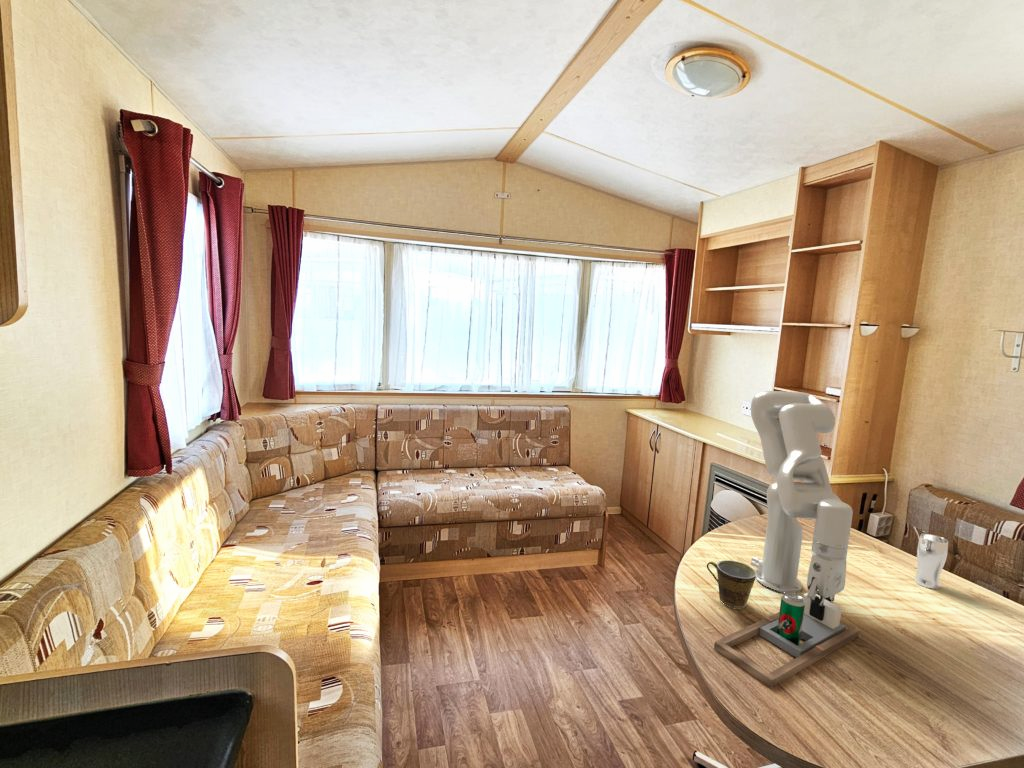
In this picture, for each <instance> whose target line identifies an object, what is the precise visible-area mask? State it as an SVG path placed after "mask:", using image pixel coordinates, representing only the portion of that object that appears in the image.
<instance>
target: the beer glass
mask: <svg viewBox="0 0 1024 768" xmlns="http://www.w3.org/2000/svg"><path fill="white" fill-rule="evenodd" d="M948 550H949V541H948V539H946V538H944V537H941V536H939V535H936V534H930V533H921V534H920V536H919V540H918V545H917V551H916V557H917V559H916V561H917V572H916V574H915V576H914V579H913V580H914V581H913V582H915V583H916V584H918V585H919V586H921V585H922V587H923V586H924V588H926V587H927V588H926V589H930V588H931V589H932V590H939V589H940V588H941V587H940V585H941V584H940V576H941V573H942V570H943V568H944V566H945V564H946V561H947V557H948V552H949V551H948Z"/></svg>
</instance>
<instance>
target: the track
mask: <svg viewBox="0 0 1024 768" xmlns="http://www.w3.org/2000/svg"><path fill="white" fill-rule="evenodd" d="M777 619H779V611H778V612H776V613H774V614H772V615H769V616H766V617H764V618H763V619H761V620H758V621H756V622H754V623H752V624H750V625H747V626H745V627H744V628H741V629H739V630H737V631H735V632H733V633H731V634H728V635H726V636H724V637H721V638H720V639H717V640H716V641H714V644H713V645H714V646H713V649H714V650H715V651H717V652H719V653H720V654H722V656H724V657H726V658H727V659H728V660H730V661H731V662H733V663H734V664H735V665H736V666H738V667H740V668H741V669H743V670H744V671H746V672H747V673H749V674H750V675H752V677H754V678H756V679H757V680H759V681H760V682H762V683H763V684H764V685H766V686H767V687H769V688H773V687H775V686H777V685H779V684H781V683H782V682H784V681H786V680H788V679H789V678H791V677H792V676H794V675H795V674H797V673H799V672H801V671H802V670H804V669H806V668H807V667H809V666H812V665H813V664H814V663H816V662H818V661H819V660H822V659H823V658H824V657H826V656H829V655H830V654H831V653H833V652H835V651H836V650H838V649H840V648H842V647H843V646H845V645H846V644H848V643H850V642H851V641H853V640H855V639H857V638H858V637H859V633H860V630H859V629H858V628H856V627H854V626H850V627H848V628H846V630H845V631H843V632H842V633H840V634H838V635H836V636H834V637H833V638H831V639H829V640H827V641H826V642H824V643H822V644H820V645H817V646H815V648H813V649H811V650H810V651H808V652H806V653H804V654H802V655H801V656H799V657H797V658H796V657H795V658H794V659H792V660H790V661H788V662H787V663H785V664H783V665H781V666H779V667H778V668H776V669H773V670H772V671H771V672H769V671H767V670H766V669H764V668H762V667H761V666H759V665H758V664H756V663H755V662H754V661H752V660H750V659H749V658H747V657H745V656H744V655H743V654H741V653H740V652H738V651H737V650H735V649H734V648H732V647H734V646H737V645H738V644H740V643H741V644H742V643H743V642H745V641H747V640H748V639H751V638H753V637H755V636H757V635H759V633H760V627H762V626H765V625H767V624H769V623H771V622H773V621H775V620H777Z"/></svg>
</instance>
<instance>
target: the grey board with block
mask: <svg viewBox="0 0 1024 768" xmlns="http://www.w3.org/2000/svg"><path fill="white" fill-rule="evenodd" d="M807 594H808V592H806V593H803V594H802V598H803V599H804V603H805V608H804V616H803V623H802V631H801V638H800V639H802V640H804V642H802V643H800V645H798V646H797V645H795V644H794V643H792V642H790V641H789V640H787V639H785V638H784V637H782V636H780V635H778V634H777V627H778V619H777V620H775V621H773V622H771V623H769V624H767V625H765V626H762V627H760V633H759V634H758V635H759V636H760V637H762V638H763V639H765V640H766V641H769V642H770V643H772V644H774V645H775V646H777V647H778V648H780V649H781V650H783V651H784V652H786V653H788V654H790V655H792V656H793V657H795V658H797V657H799V656H801V655H802V654H804V653H806V652H808V651H810V650H811V649H813V648H815V646H817V645H820V644H822V643H824V642H826V641H827V640H829V639H831V638H833V637H834V636H836V635H838V634H840V633H842V632H843V631H845V630H847V625H845V624H843V623H841V615H842V609H843V607H842V606H840V605H838V604H836V603H834V602H833V603H832V601H831V602H830V601H828V600H826V599H825V600H824V605H823V606H825V610H824V617H823V620H822V621H820V620H818V619H816V618H815V617H813V616H811V615H810V614H809V612H810V605H811V601H810V598H809V597H807ZM816 596H817V597H819V598H820V596H819V595H817V594H816Z"/></svg>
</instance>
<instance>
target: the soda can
mask: <svg viewBox="0 0 1024 768" xmlns="http://www.w3.org/2000/svg"><path fill="white" fill-rule="evenodd" d="M782 594H783V595H782V596H781V597H780V603H779V604H780V605H779V611H778V612H779V619H778V627H777V634H778V635H780V636H782V637H784V638H785V639H787V640H789V641H790V642H792V643H794V644H795V645H797V646H798V645H800V644H801V639H802V638H801V631H802V623H803V616H804V608H805V603H804V599H803V596H801V595H799V594H798V593H792V592H785V593H782Z"/></svg>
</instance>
